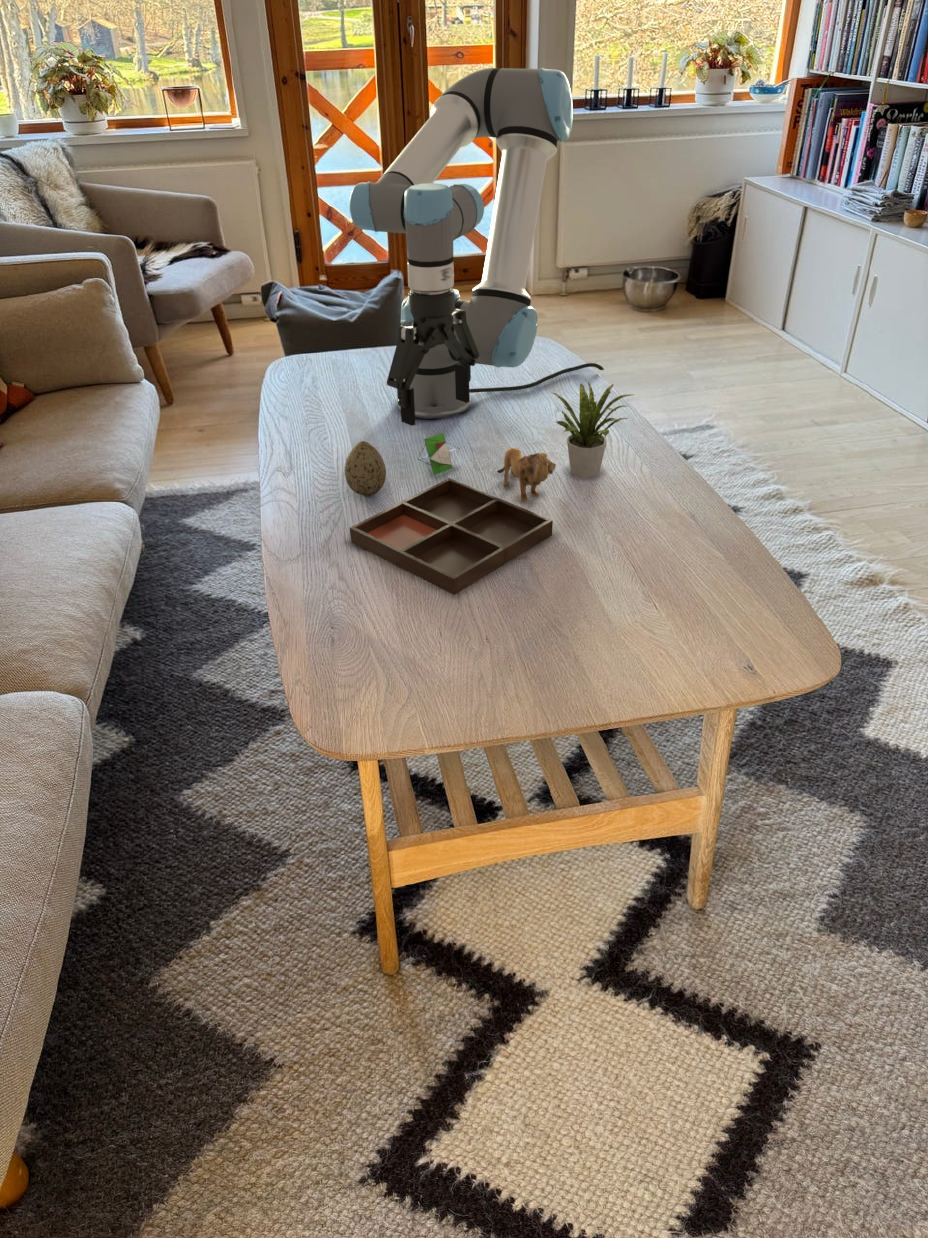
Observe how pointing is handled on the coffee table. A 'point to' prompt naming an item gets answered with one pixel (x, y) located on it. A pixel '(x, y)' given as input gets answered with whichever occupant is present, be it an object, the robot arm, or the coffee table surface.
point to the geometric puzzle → (438, 453)
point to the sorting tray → (451, 534)
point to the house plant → (588, 432)
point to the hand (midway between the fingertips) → (436, 411)
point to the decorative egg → (365, 469)
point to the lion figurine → (526, 470)
